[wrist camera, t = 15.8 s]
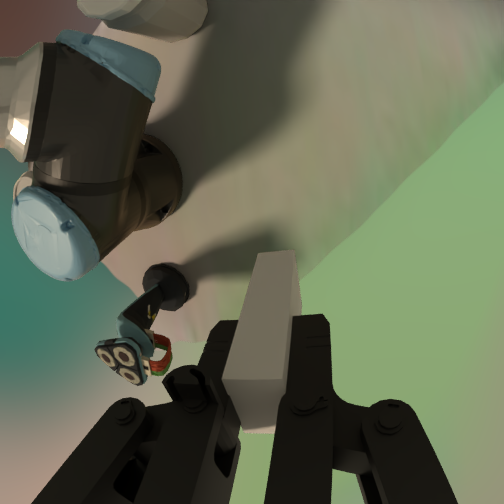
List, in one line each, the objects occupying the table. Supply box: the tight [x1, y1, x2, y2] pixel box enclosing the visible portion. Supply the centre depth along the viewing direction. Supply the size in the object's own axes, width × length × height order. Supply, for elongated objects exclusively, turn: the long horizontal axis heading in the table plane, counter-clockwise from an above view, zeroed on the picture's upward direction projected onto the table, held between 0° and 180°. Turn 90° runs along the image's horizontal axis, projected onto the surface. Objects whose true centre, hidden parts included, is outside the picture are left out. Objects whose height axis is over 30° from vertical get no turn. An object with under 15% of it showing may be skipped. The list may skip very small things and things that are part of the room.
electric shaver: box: [95, 264, 189, 386], centre depth 47 cm, size 9×12×20 cm
